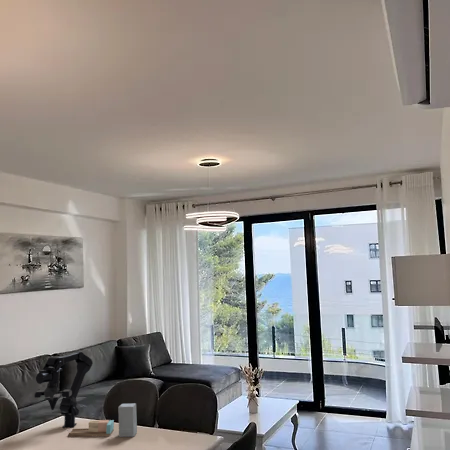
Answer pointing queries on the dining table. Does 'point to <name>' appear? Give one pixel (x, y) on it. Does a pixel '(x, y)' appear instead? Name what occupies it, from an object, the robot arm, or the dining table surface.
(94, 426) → the beige slanted block
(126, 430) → the skincare box
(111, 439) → the dining table surface
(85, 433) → the channel
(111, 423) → the teal end stop
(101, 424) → the block
